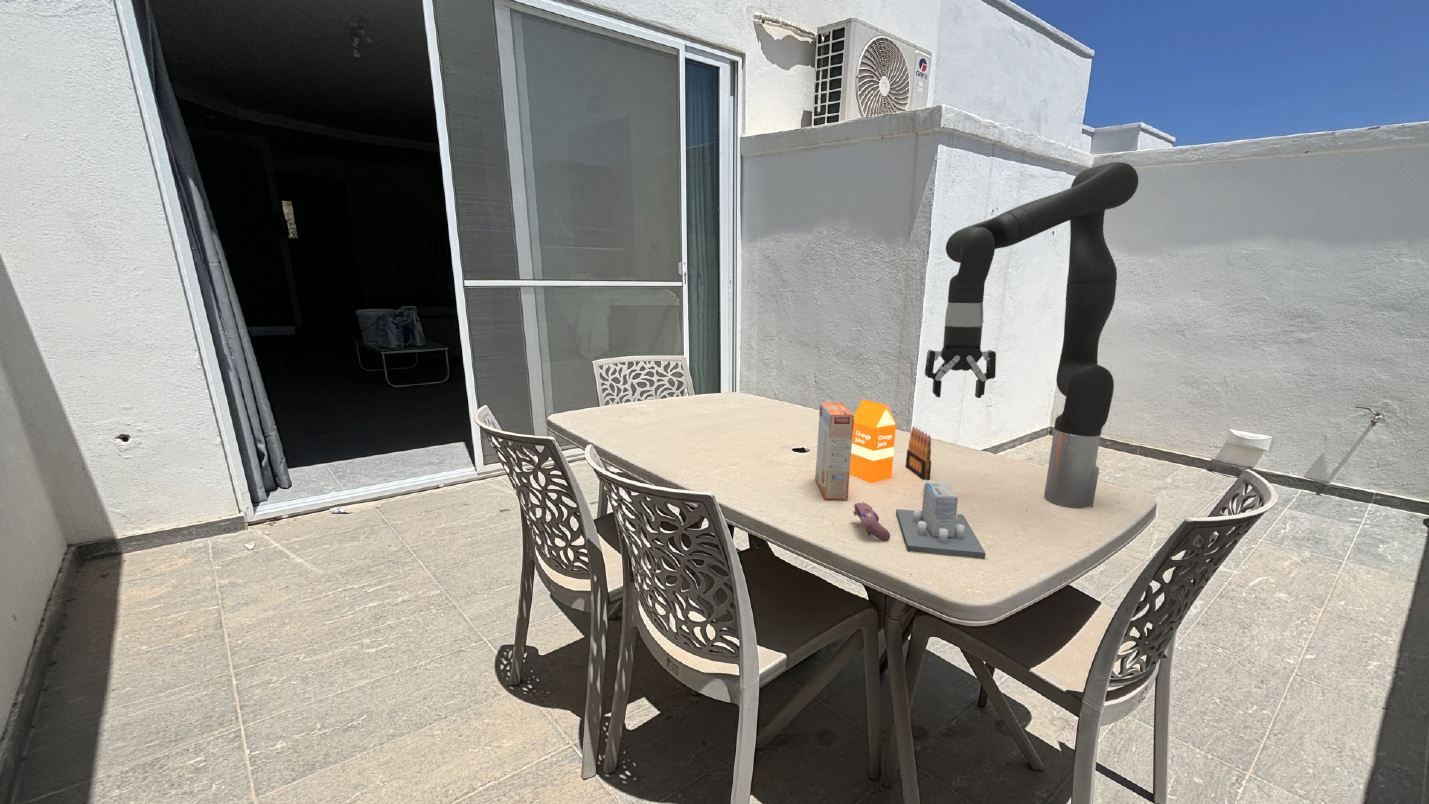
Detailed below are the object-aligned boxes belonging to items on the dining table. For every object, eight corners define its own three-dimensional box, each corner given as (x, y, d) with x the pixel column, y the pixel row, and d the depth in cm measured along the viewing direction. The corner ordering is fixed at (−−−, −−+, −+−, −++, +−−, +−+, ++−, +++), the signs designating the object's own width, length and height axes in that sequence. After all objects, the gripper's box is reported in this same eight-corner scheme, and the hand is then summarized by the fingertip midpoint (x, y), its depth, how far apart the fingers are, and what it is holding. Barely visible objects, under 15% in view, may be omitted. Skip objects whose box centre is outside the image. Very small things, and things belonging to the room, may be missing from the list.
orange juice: (871, 483, 146) (877, 407, 142) (846, 473, 153) (851, 400, 149) (892, 478, 150) (898, 403, 146) (866, 468, 158) (872, 397, 153)
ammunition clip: (905, 466, 159) (908, 425, 157) (911, 466, 160) (915, 425, 157) (923, 480, 149) (927, 435, 146) (930, 480, 149) (934, 435, 147)
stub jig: (962, 519, 125) (964, 504, 124) (984, 558, 107) (987, 541, 107) (895, 514, 127) (897, 498, 126) (907, 551, 110) (908, 533, 109)
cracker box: (849, 501, 134) (855, 414, 130) (823, 500, 134) (828, 413, 130) (837, 480, 148) (843, 401, 143) (814, 479, 148) (818, 400, 144)
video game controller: (859, 528, 123) (847, 500, 122) (879, 519, 123) (866, 491, 122) (871, 549, 114) (858, 519, 112) (893, 540, 113) (879, 510, 112)
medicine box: (954, 538, 113) (959, 496, 111) (931, 537, 113) (935, 495, 111) (941, 521, 121) (946, 482, 119) (920, 520, 121) (924, 481, 119)
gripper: (992, 322, 127) (986, 394, 130) (925, 322, 129) (921, 393, 132) (1004, 325, 119) (996, 401, 123) (932, 325, 122) (927, 399, 125)
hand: (957, 397), depth 127 cm, fingers open, 8 cm apart
